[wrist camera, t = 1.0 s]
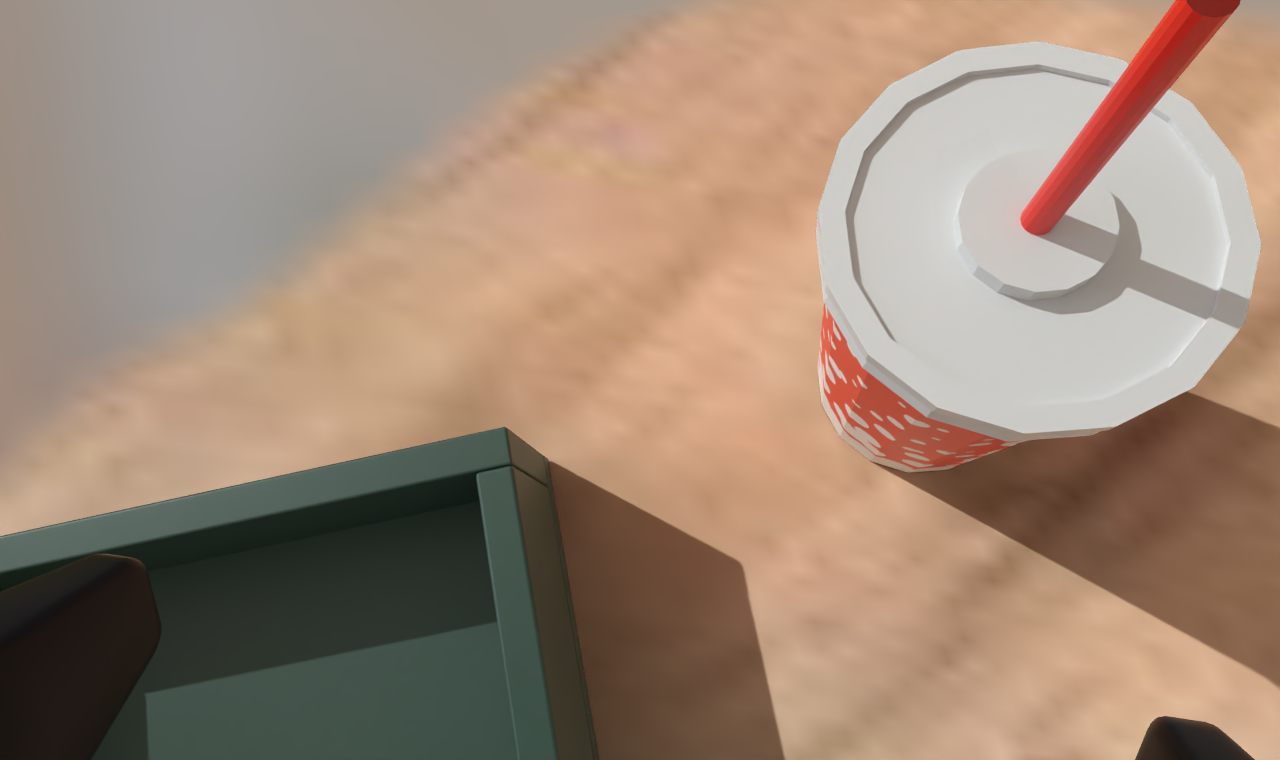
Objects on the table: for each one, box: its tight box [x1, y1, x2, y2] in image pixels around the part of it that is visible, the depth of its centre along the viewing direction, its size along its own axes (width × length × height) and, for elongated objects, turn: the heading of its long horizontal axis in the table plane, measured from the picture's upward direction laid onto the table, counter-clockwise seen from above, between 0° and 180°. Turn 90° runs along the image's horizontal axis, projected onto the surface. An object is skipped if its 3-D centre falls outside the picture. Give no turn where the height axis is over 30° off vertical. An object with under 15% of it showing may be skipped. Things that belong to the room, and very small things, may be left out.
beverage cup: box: [816, 0, 1261, 473], centre depth 15 cm, size 6×6×14 cm
